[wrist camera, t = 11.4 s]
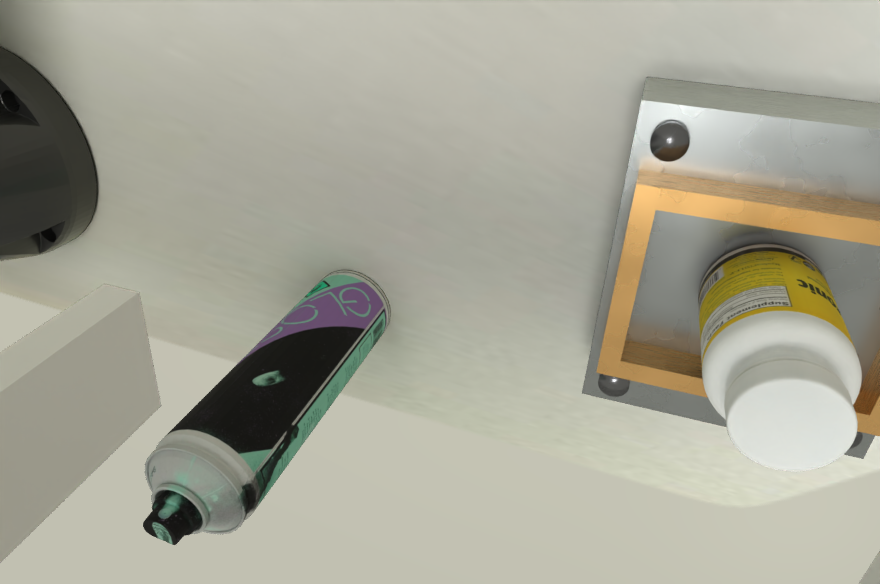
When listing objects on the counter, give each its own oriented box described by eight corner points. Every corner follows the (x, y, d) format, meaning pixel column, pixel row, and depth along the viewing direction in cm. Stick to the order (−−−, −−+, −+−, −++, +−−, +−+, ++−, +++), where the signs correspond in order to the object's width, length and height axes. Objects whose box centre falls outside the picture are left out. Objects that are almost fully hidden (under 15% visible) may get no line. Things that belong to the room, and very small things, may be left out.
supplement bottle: (842, 324, 30) (902, 476, 22) (720, 354, 32) (732, 499, 24) (807, 222, 28) (857, 344, 20) (681, 261, 31) (679, 384, 23)
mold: (592, 344, 40) (577, 416, 34) (646, 76, 32) (638, 111, 26) (842, 398, 37) (872, 487, 31) (974, 114, 29) (1048, 163, 23)
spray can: (371, 262, 42) (172, 481, 26) (402, 333, 44) (236, 579, 28) (304, 278, 45) (82, 488, 28) (337, 345, 47) (147, 578, 30)
